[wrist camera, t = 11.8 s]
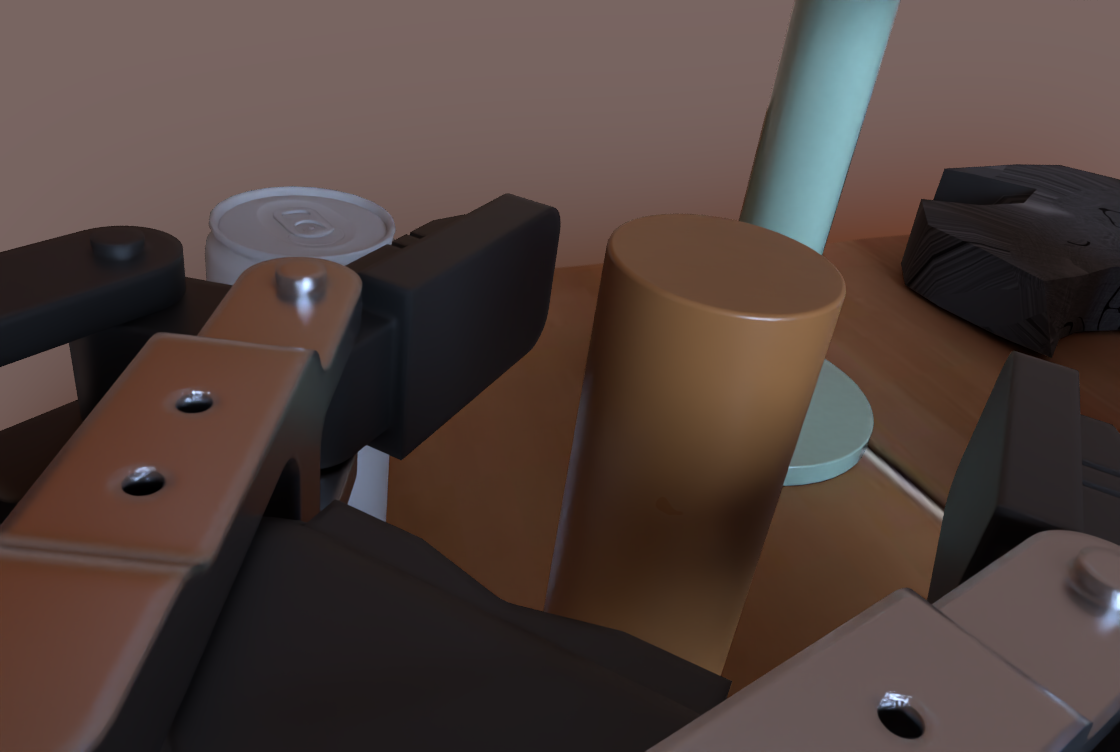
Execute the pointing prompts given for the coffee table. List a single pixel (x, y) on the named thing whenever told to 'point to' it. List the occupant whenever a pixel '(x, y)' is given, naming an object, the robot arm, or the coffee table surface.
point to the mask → (1021, 251)
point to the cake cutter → (688, 426)
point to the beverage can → (303, 231)
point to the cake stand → (819, 185)
